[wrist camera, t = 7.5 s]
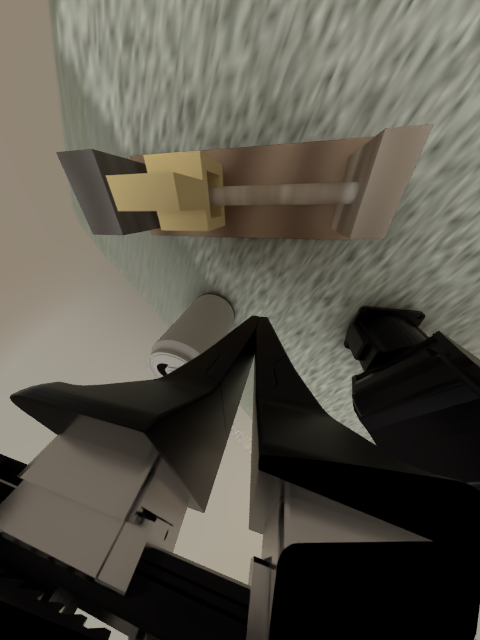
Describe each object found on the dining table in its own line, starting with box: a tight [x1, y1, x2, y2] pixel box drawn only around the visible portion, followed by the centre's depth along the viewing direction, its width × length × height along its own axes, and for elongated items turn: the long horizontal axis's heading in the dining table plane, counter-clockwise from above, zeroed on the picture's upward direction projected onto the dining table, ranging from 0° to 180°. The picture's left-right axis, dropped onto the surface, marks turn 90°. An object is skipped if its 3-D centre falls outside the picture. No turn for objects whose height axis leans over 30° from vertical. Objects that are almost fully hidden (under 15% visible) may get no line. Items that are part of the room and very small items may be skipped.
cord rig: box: [57, 124, 434, 240], centre depth 14 cm, size 22×7×8 cm, turn 91°
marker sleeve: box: [106, 151, 225, 231], centre depth 12 cm, size 4×4×8 cm
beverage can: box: [147, 294, 234, 379], centre depth 21 cm, size 6×6×12 cm
